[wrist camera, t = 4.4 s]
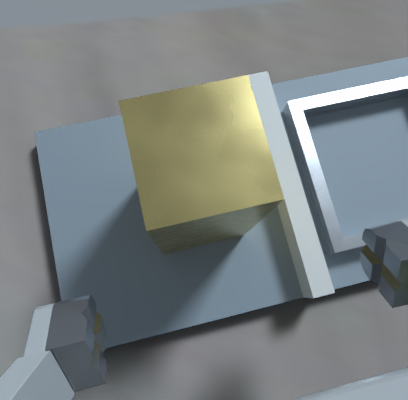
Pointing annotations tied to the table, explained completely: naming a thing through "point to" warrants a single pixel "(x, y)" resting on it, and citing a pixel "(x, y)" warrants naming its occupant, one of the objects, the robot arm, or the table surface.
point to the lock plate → (235, 247)
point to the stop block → (200, 163)
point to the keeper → (309, 159)
